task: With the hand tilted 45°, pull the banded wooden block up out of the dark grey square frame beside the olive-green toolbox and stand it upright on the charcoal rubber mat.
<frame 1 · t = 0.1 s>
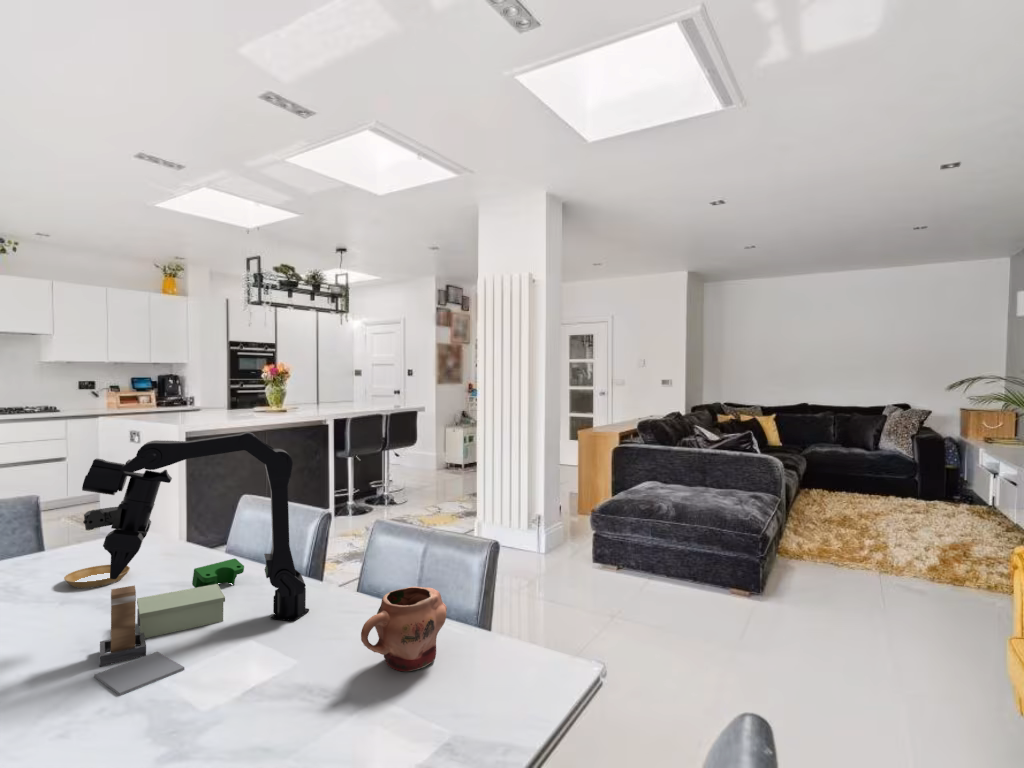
hand: (116, 572, 118), 15 cm above the table, tool pointing down, fingers open, 9 cm apart
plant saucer: (97, 582, 155), on the table
mat: (139, 673, 107), on the table
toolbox: (181, 621, 130), on the table
terracotta mug: (404, 665, 112), on the table
clamp: (219, 587, 153), on the table
dark grey square frame: (122, 653, 115), on the table
banded wooden block: (123, 622, 115), in the dark grey square frame
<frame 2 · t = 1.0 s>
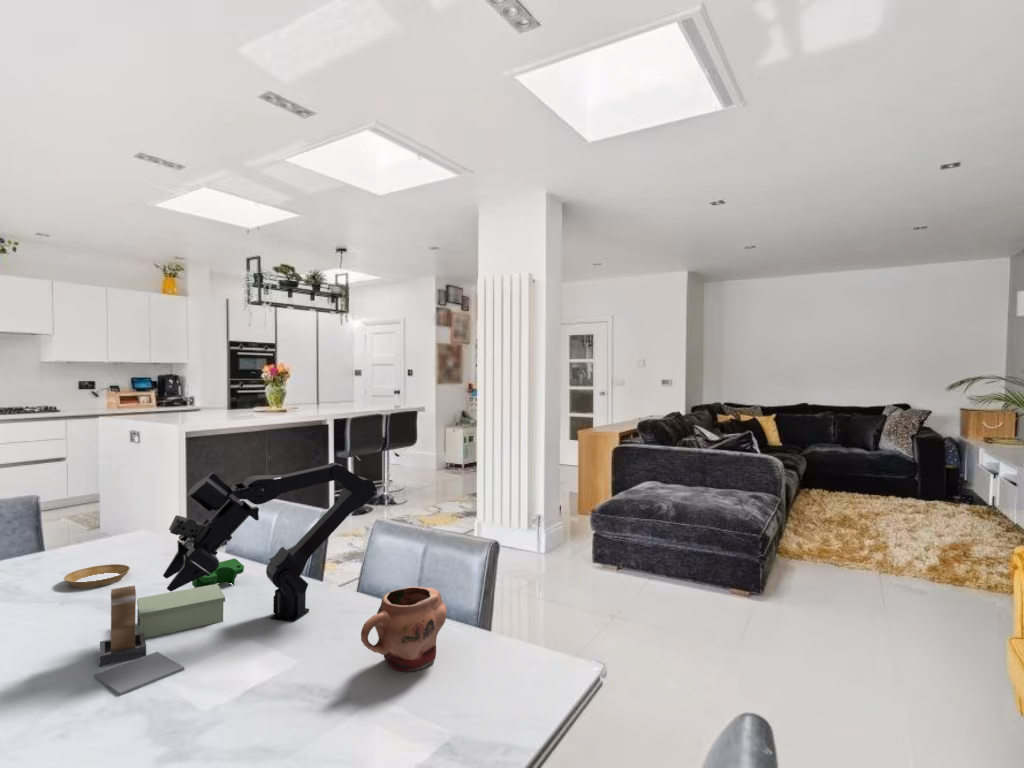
hand: (166, 583, 119), 13 cm above the table, tool tilted 45°, fingers open, 9 cm apart
nothing on the table moved.
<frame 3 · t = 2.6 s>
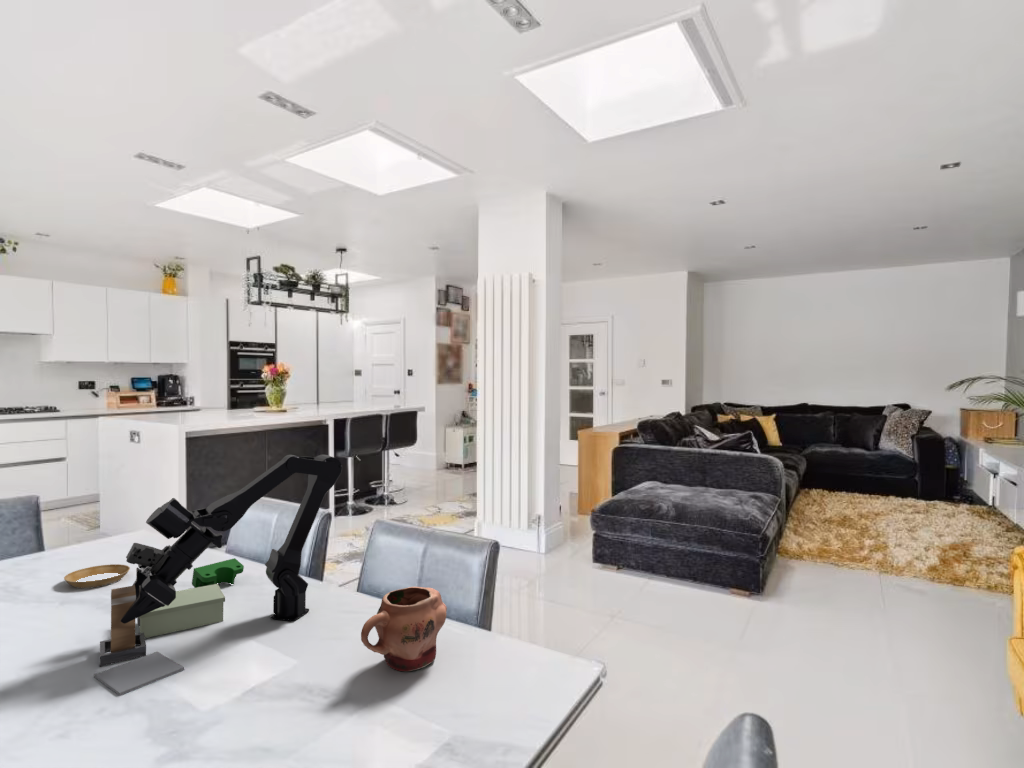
hand: (121, 614, 114), 8 cm above the table, tool tilted 45°, fingers open, 9 cm apart
nothing on the table moved.
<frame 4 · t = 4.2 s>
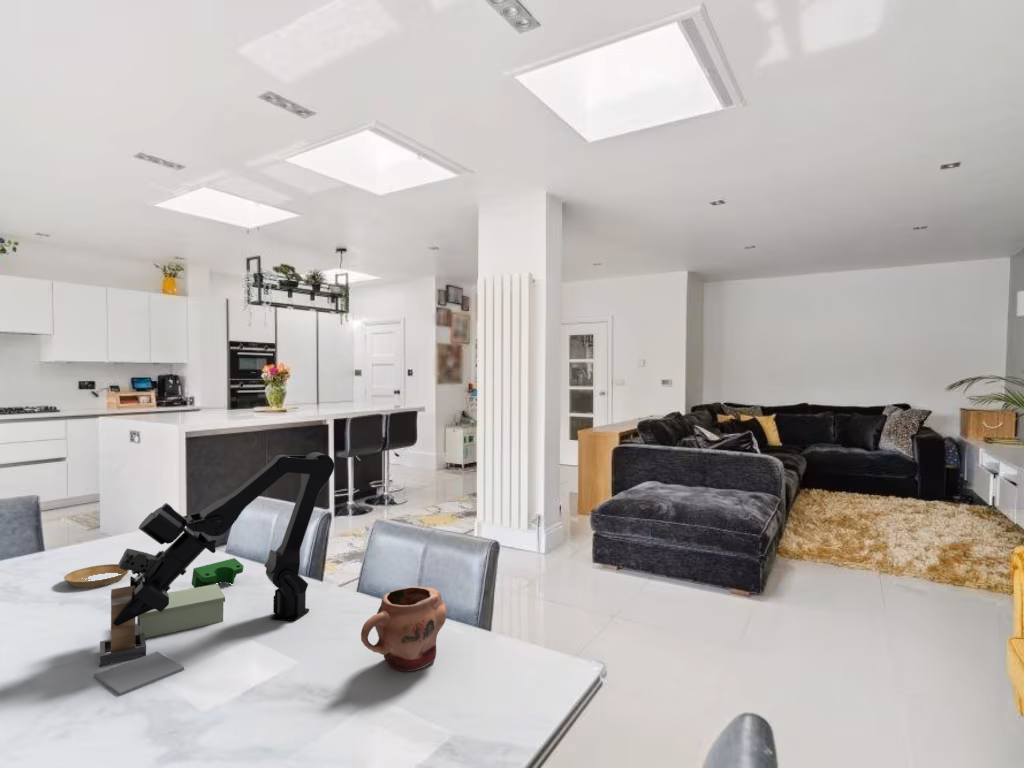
hand: (114, 620, 114), 7 cm above the table, tool tilted 45°, fingers closed on banded wooden block, 4 cm apart
banded wooden block: (123, 621, 115), in the dark grey square frame, touching gripper
everything else where it was.
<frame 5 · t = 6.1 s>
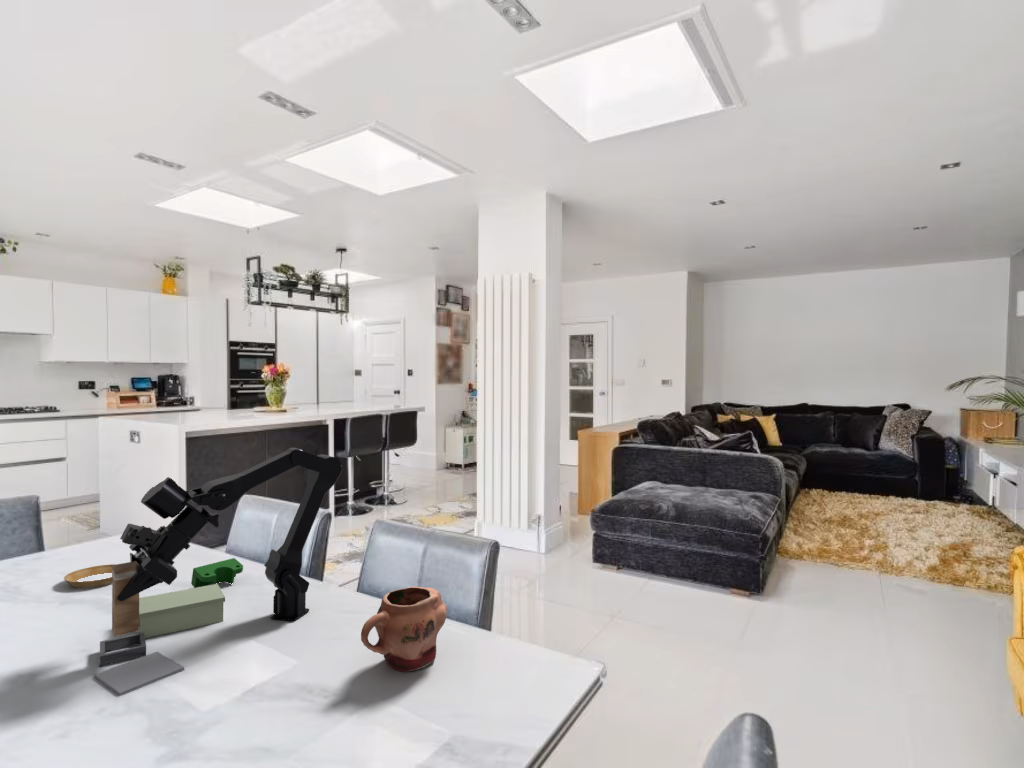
hand: (117, 596, 111), 13 cm above the table, tool tilted 45°, fingers closed on banded wooden block, 4 cm apart
banded wooden block: (125, 597, 112), point 12 cm above the table, touching gripper
everything else where it was.
when the fingers open (9 cm above the table, at t = 8.4 s): banded wooden block drops 1 cm, resting on mat.
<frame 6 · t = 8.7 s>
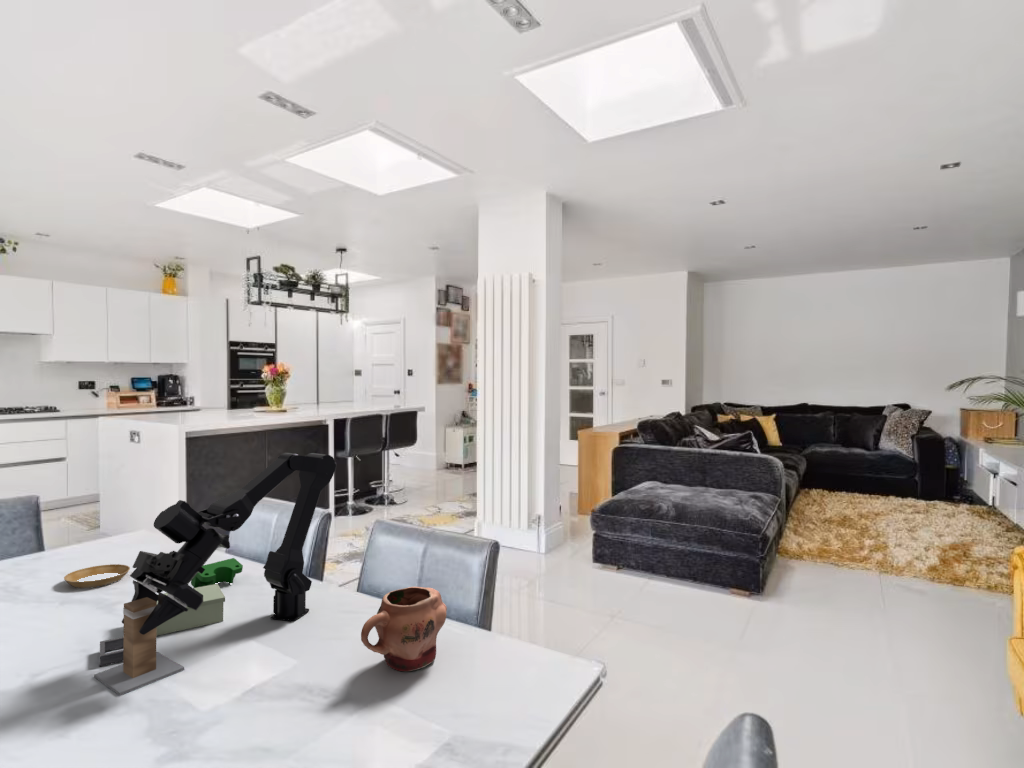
hand: (132, 628, 106), 9 cm above the table, tool tilted 45°, fingers open, 7 cm apart
banded wooden block: (140, 636, 107), on the mat
everything else where it was.
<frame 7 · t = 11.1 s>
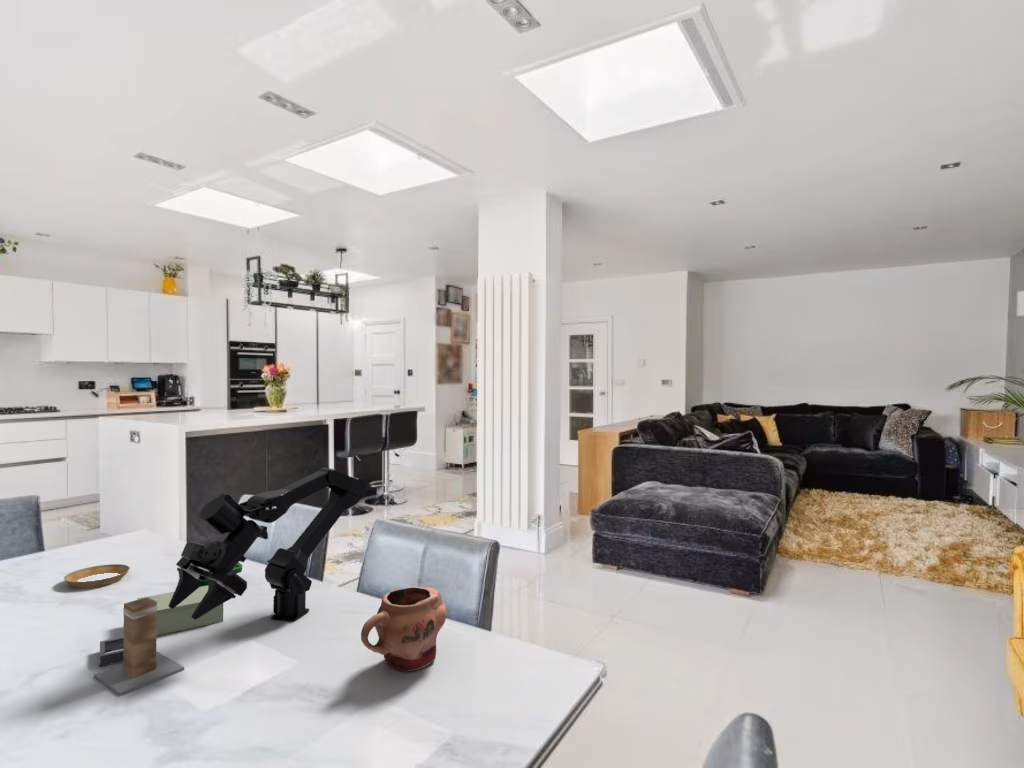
hand: (181, 612, 113), 9 cm above the table, tool tilted 45°, fingers open, 9 cm apart
nothing on the table moved.
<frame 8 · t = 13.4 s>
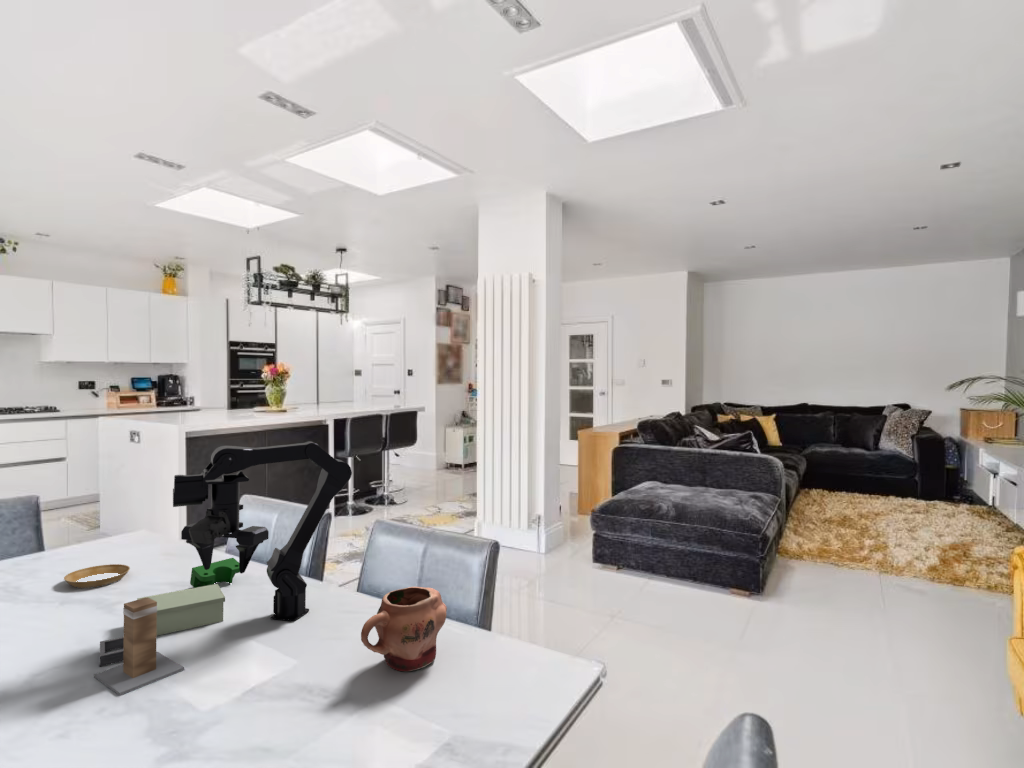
hand: (224, 571, 127), 13 cm above the table, tool pointing down, fingers open, 9 cm apart
at the end: banded wooden block inside the target area on the mat (0.1 cm from its centre), point 7.0 cm above the mat's base; banded wooden block tilted 0°; the gripper is holding nothing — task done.
